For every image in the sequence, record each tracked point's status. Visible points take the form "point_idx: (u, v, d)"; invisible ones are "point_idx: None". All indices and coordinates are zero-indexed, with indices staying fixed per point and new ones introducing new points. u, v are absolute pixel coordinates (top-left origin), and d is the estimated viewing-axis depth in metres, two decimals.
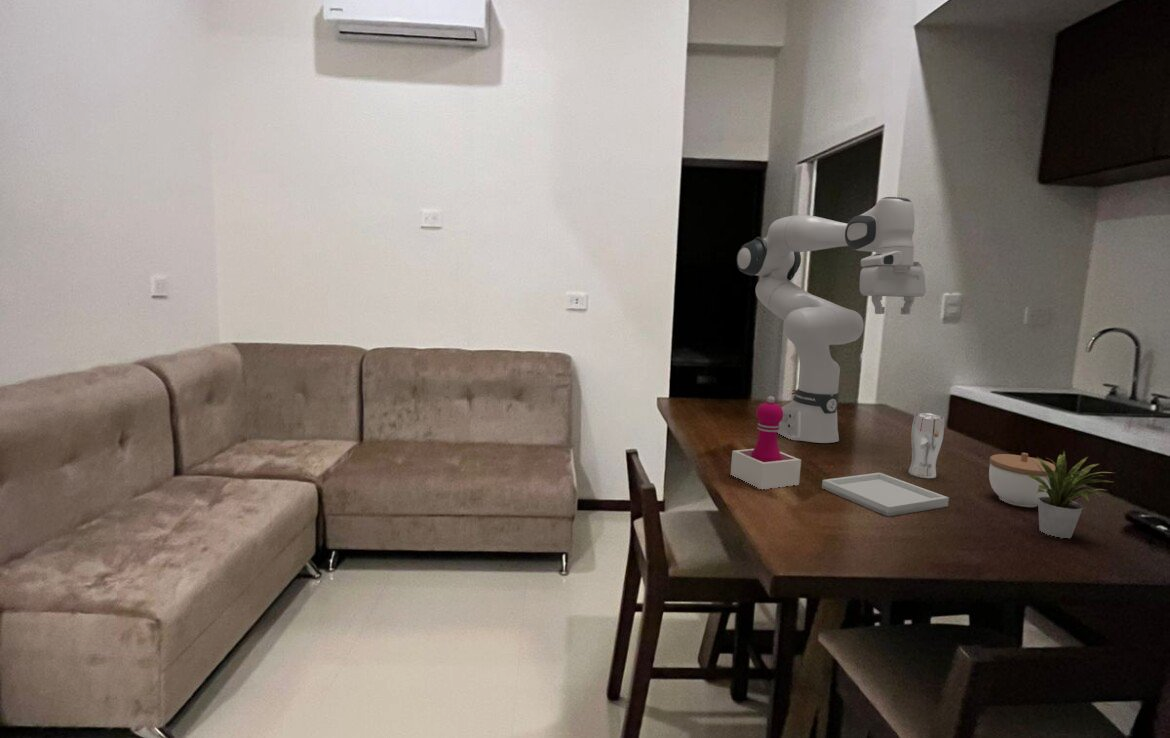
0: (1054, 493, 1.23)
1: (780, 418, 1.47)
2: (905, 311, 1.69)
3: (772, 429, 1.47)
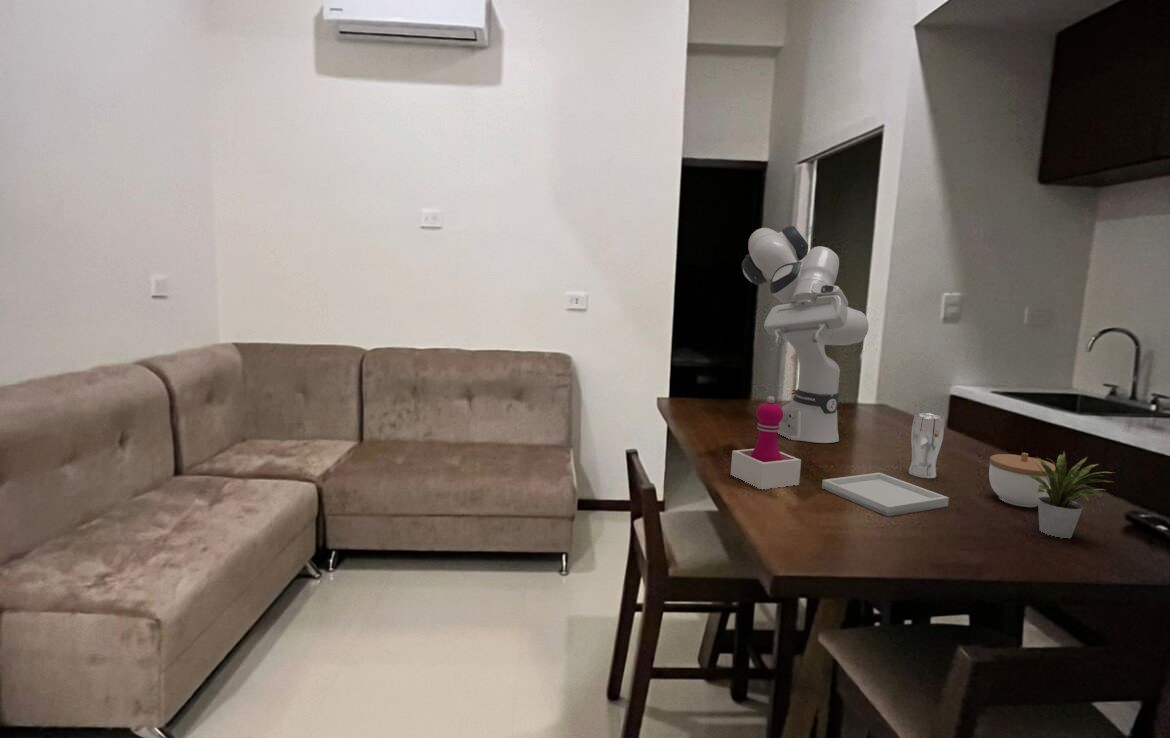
0: (1054, 493, 1.23)
1: (780, 418, 1.47)
2: (783, 343, 1.60)
3: (772, 429, 1.47)
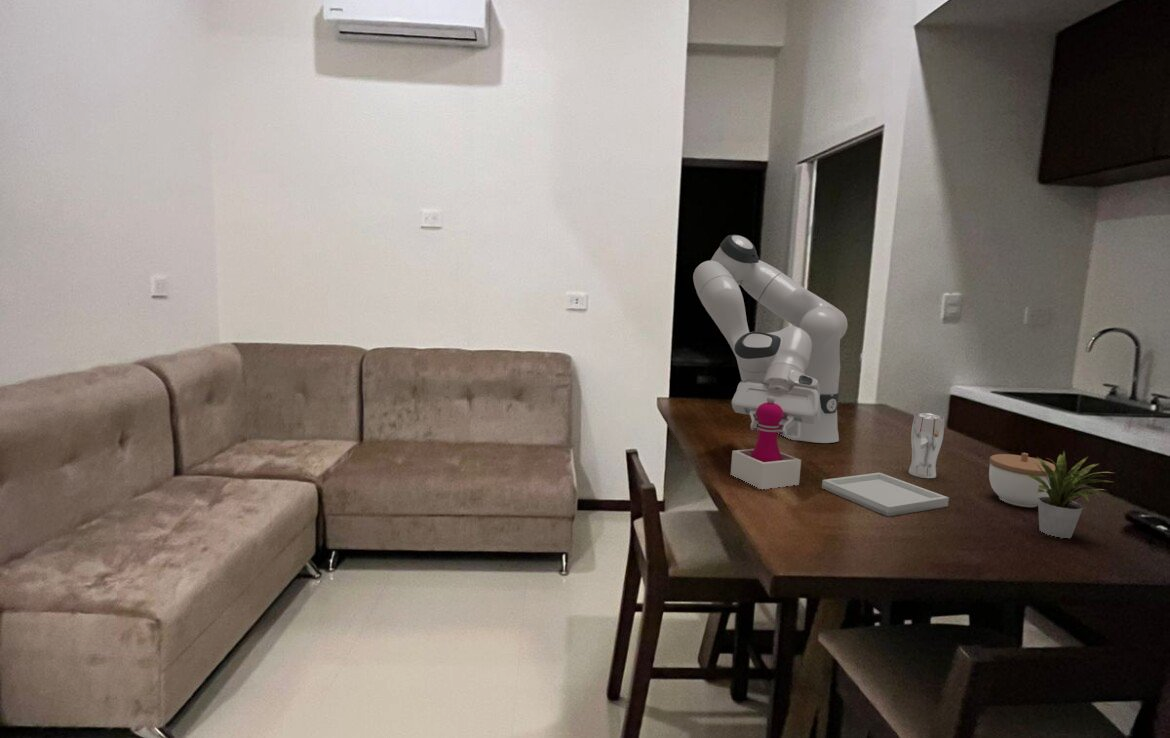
0: (1054, 493, 1.23)
1: (780, 418, 1.47)
2: (757, 428, 1.51)
3: (772, 429, 1.47)
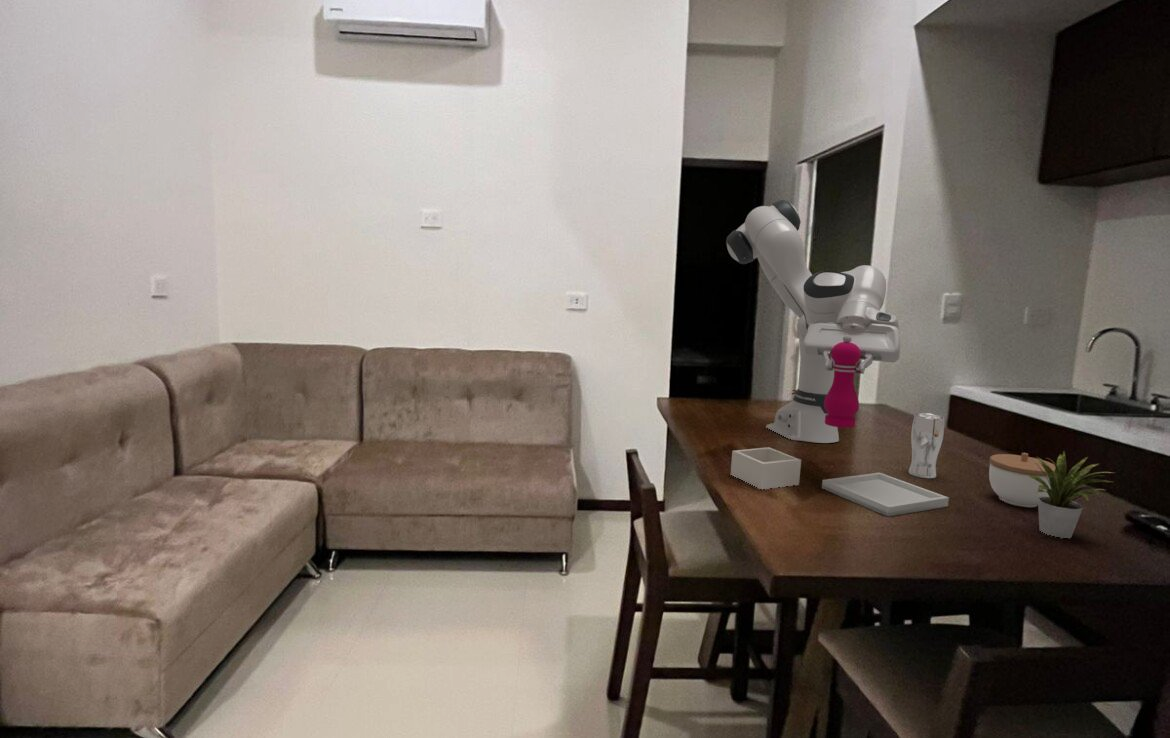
0: (1054, 493, 1.23)
1: (858, 357, 1.39)
2: None
3: (849, 369, 1.40)
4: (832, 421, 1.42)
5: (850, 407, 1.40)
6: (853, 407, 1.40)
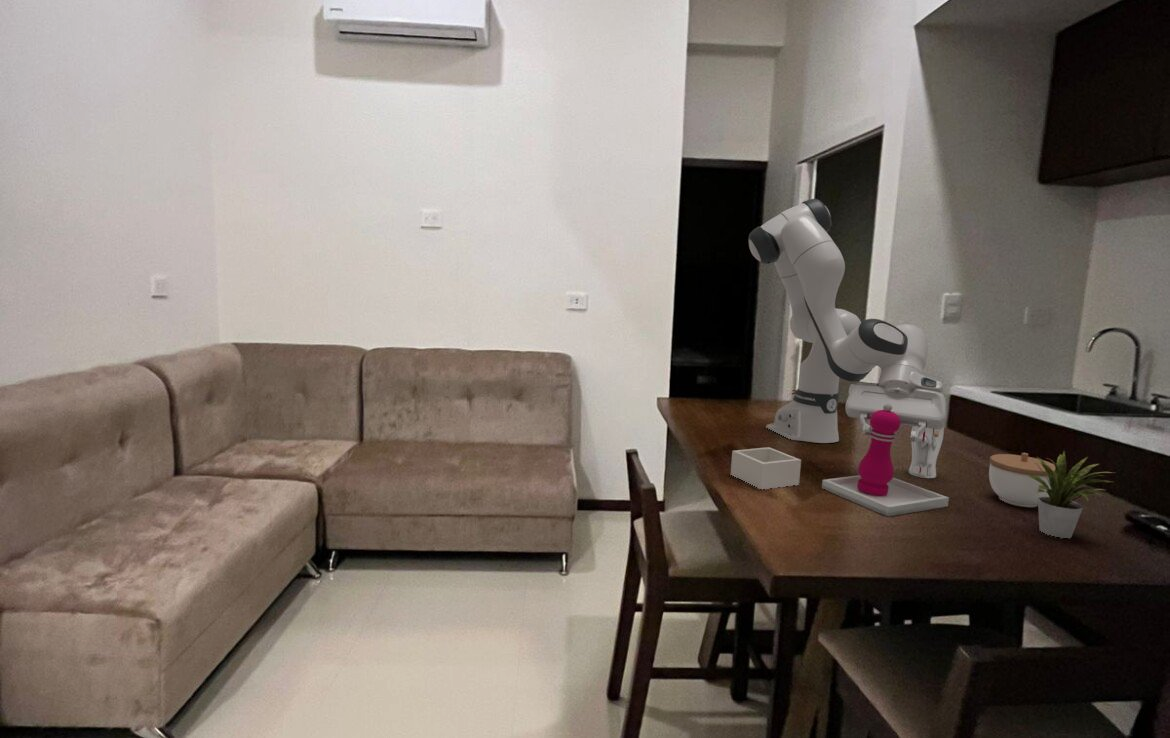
0: (1054, 493, 1.23)
1: (897, 427, 1.39)
2: (869, 432, 1.43)
3: (888, 438, 1.39)
4: (866, 488, 1.42)
5: (886, 476, 1.40)
6: (889, 476, 1.40)
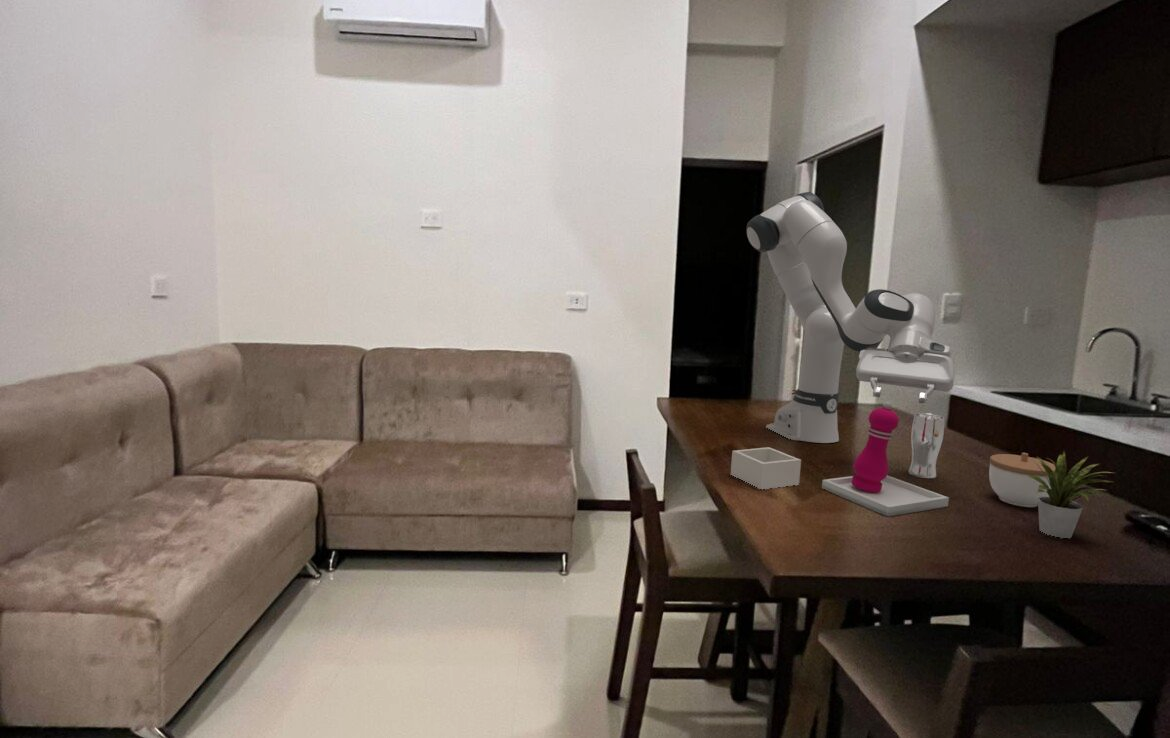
0: (1054, 493, 1.23)
1: (895, 426, 1.41)
2: None
3: (885, 436, 1.41)
4: (860, 484, 1.43)
5: (881, 473, 1.41)
6: (883, 473, 1.41)
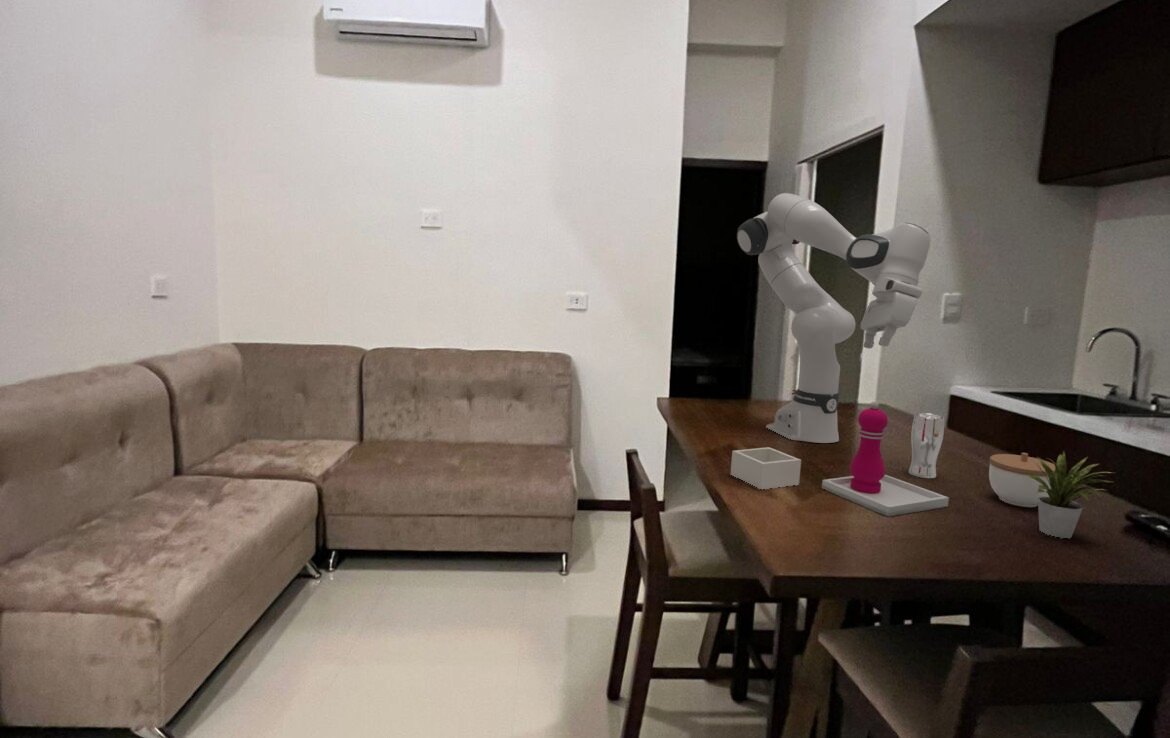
0: (1054, 493, 1.23)
1: (885, 425, 1.41)
2: (871, 345, 1.57)
3: (877, 436, 1.41)
4: (859, 486, 1.43)
5: (877, 473, 1.41)
6: (880, 473, 1.42)
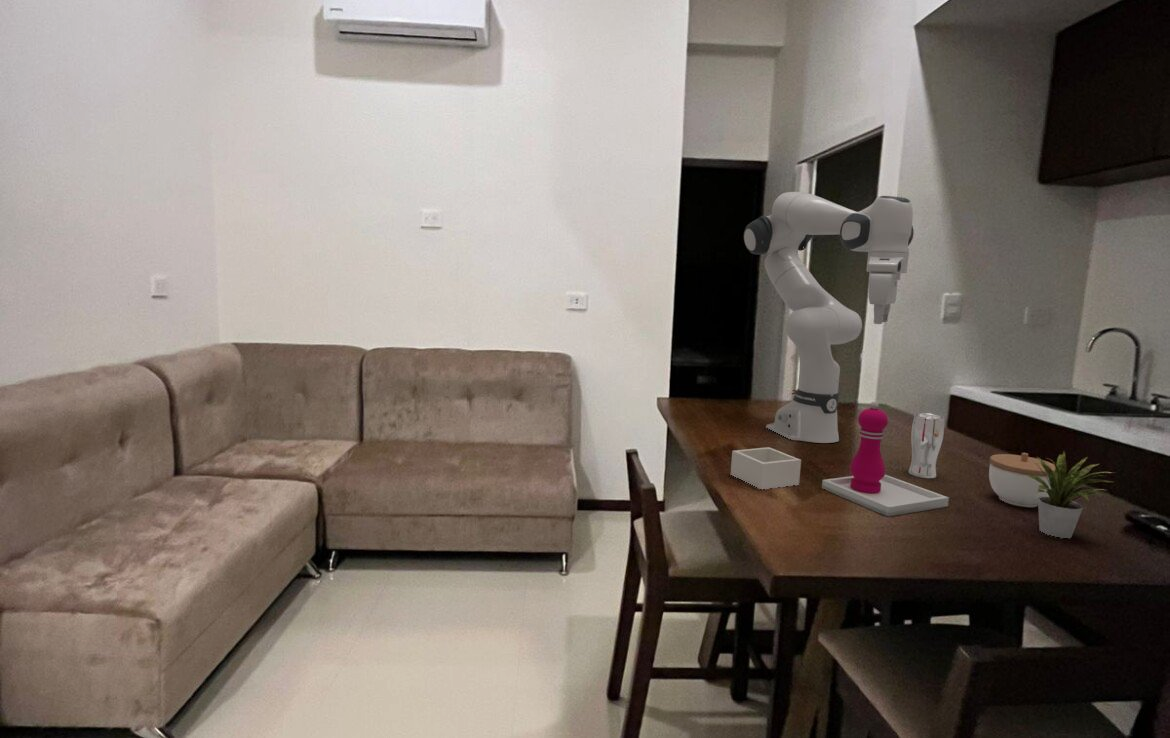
0: (1054, 493, 1.23)
1: (885, 425, 1.41)
2: (885, 319, 1.60)
3: (877, 436, 1.41)
4: (859, 486, 1.43)
5: (877, 473, 1.41)
6: (880, 473, 1.42)
